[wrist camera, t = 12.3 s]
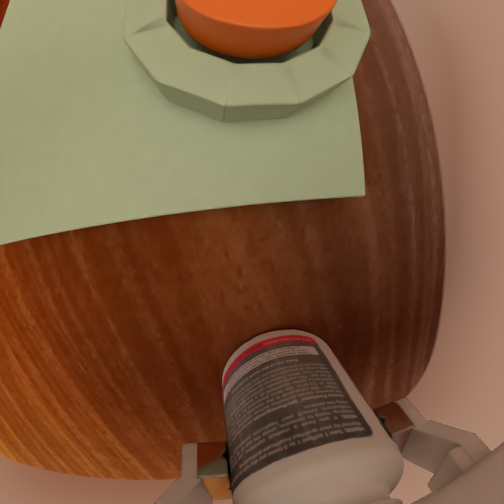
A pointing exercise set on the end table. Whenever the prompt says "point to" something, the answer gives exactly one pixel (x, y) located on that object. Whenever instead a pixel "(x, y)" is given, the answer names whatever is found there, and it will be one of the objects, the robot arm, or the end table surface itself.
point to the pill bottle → (302, 427)
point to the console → (166, 116)
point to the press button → (252, 24)
